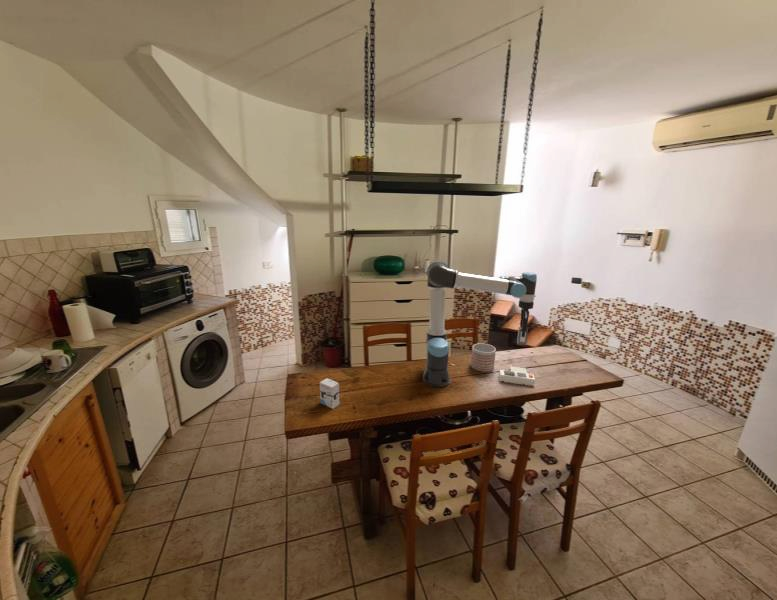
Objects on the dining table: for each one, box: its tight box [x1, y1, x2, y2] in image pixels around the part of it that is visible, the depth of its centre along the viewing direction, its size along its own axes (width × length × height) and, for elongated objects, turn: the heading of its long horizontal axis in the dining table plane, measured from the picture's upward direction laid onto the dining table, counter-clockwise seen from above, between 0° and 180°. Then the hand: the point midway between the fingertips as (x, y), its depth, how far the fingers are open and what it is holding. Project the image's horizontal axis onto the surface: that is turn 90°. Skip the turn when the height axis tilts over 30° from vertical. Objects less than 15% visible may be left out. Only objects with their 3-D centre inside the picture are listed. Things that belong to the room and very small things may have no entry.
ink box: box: [319, 378, 340, 410], centre depth 157 cm, size 8×5×12 cm, turn 56°
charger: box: [516, 326, 529, 346], centre depth 185 cm, size 4×4×9 cm
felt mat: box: [509, 365, 528, 373], centre depth 194 cm, size 9×9×1 cm
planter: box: [470, 342, 497, 373], centre depth 198 cm, size 14×14×13 cm
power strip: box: [498, 369, 536, 387], centre depth 183 cm, size 18×6×5 cm, turn 75°
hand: (521, 339), depth 186 cm, fingers closed on charger, 4 cm apart
